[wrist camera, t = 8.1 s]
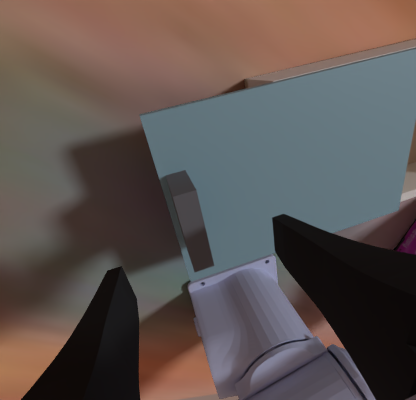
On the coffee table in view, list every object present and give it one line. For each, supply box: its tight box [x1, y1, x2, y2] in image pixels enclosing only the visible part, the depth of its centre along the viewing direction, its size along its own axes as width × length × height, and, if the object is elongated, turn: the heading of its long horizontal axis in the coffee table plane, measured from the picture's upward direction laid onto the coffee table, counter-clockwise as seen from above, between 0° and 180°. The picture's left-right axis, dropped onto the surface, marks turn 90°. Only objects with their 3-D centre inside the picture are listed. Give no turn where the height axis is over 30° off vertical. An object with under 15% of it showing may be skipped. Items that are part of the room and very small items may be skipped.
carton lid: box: [139, 47, 416, 282], centre depth 17 cm, size 18×12×4 cm, turn 101°
